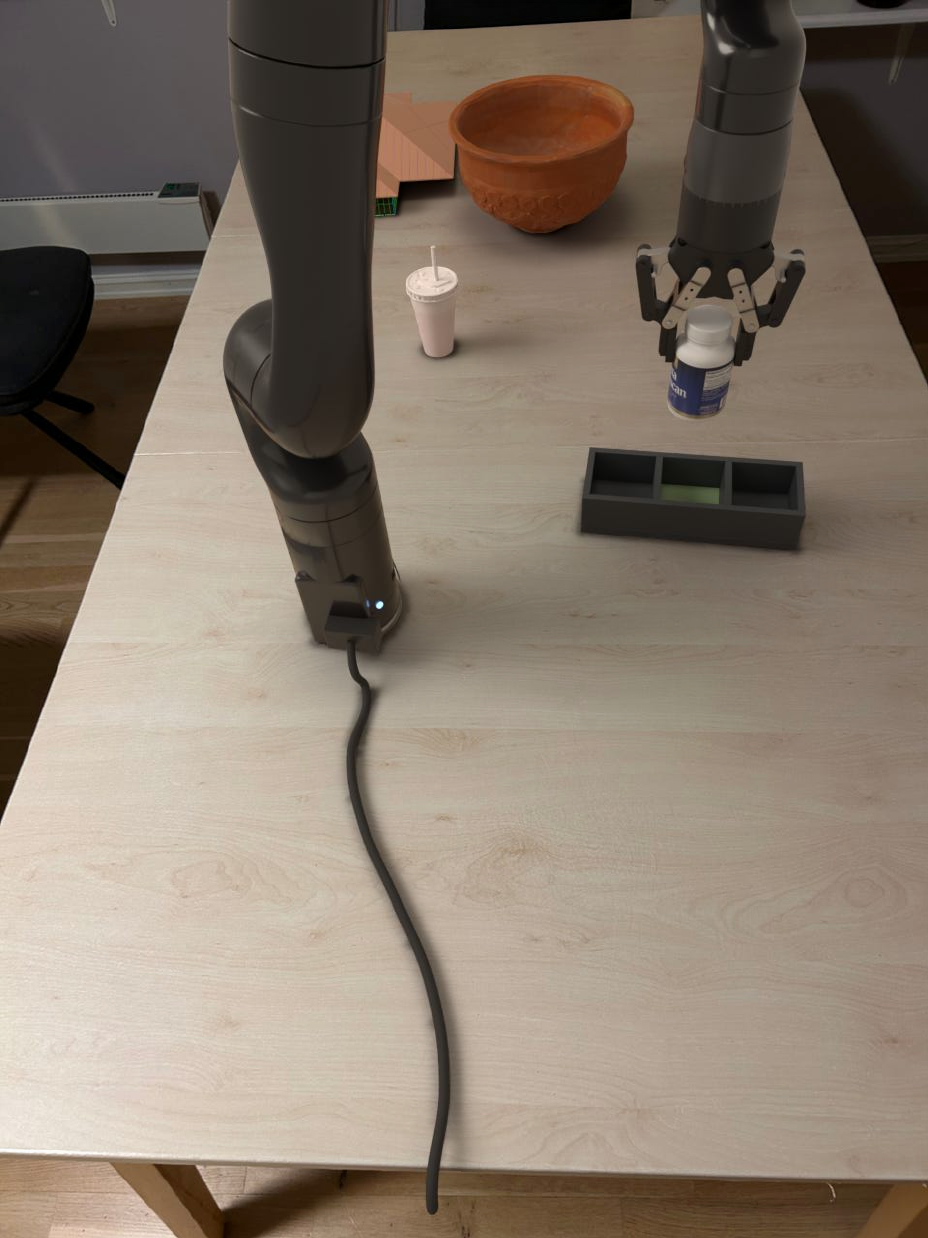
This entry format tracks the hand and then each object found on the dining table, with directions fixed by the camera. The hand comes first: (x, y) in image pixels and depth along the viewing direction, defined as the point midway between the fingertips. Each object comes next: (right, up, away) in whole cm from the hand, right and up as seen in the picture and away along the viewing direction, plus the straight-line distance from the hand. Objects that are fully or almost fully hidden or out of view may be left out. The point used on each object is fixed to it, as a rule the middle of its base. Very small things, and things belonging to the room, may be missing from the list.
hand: (703, 358), depth 84 cm
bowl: (-10, +35, +53) cm, 64 cm away
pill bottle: (0, -3, +5) cm, 6 cm away
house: (-34, +49, +66) cm, 89 cm away
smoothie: (-25, +11, +35) cm, 44 cm away
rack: (+2, -13, +14) cm, 19 cm away
